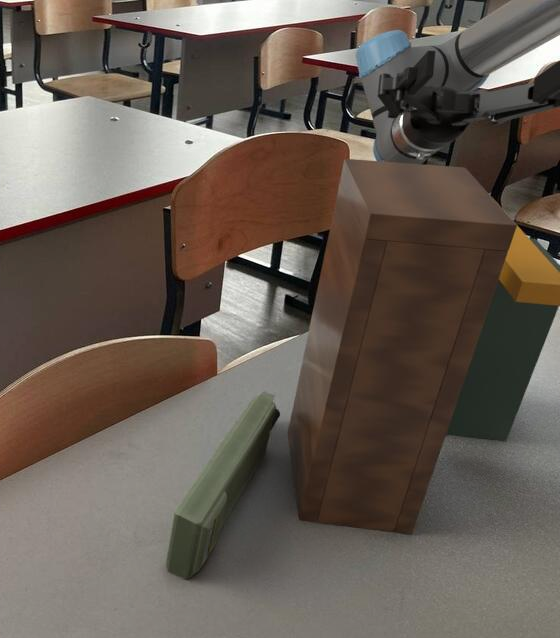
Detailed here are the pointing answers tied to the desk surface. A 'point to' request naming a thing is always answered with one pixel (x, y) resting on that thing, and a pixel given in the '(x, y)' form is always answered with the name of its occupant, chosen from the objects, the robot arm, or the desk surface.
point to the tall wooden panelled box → (391, 338)
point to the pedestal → (502, 364)
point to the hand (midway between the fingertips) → (498, 66)
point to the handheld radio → (219, 487)
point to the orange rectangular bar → (529, 273)
